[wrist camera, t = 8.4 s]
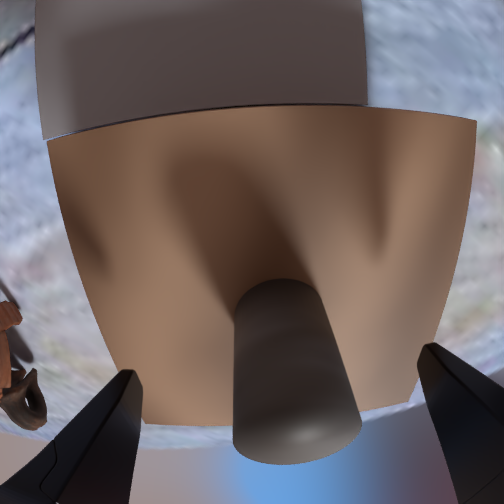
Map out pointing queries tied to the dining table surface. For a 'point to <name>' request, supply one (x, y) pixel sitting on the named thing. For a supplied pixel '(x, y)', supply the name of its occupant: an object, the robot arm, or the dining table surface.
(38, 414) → the brown curved piece
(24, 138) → the dining table surface
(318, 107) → the walnut lid
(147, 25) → the felt mat
